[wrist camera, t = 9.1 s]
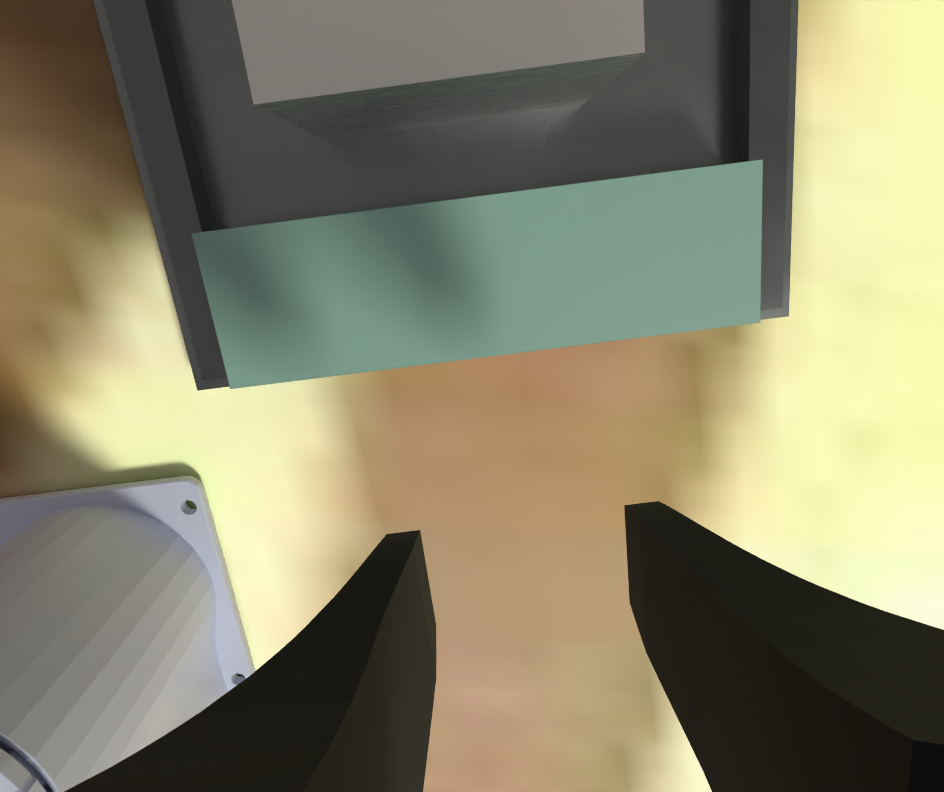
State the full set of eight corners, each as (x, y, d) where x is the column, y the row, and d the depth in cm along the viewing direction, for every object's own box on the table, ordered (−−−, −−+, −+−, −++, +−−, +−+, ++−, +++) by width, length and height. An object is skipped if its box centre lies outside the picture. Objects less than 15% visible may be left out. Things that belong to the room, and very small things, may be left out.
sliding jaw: (726, 309, 18) (760, 322, 16) (255, 369, 18) (230, 389, 16) (726, 165, 17) (762, 159, 15) (222, 230, 17) (191, 233, 15)
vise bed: (772, 310, 19) (835, 331, 16) (210, 381, 20) (160, 416, 16) (786, -353, 15) (881, -514, 11) (46, -247, 15) (-69, -375, 12)
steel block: (580, 106, 17) (644, 52, 11) (323, 140, 17) (253, 104, 11) (568, -67, 15) (634, -232, 10) (293, -29, 15) (195, -170, 10)
